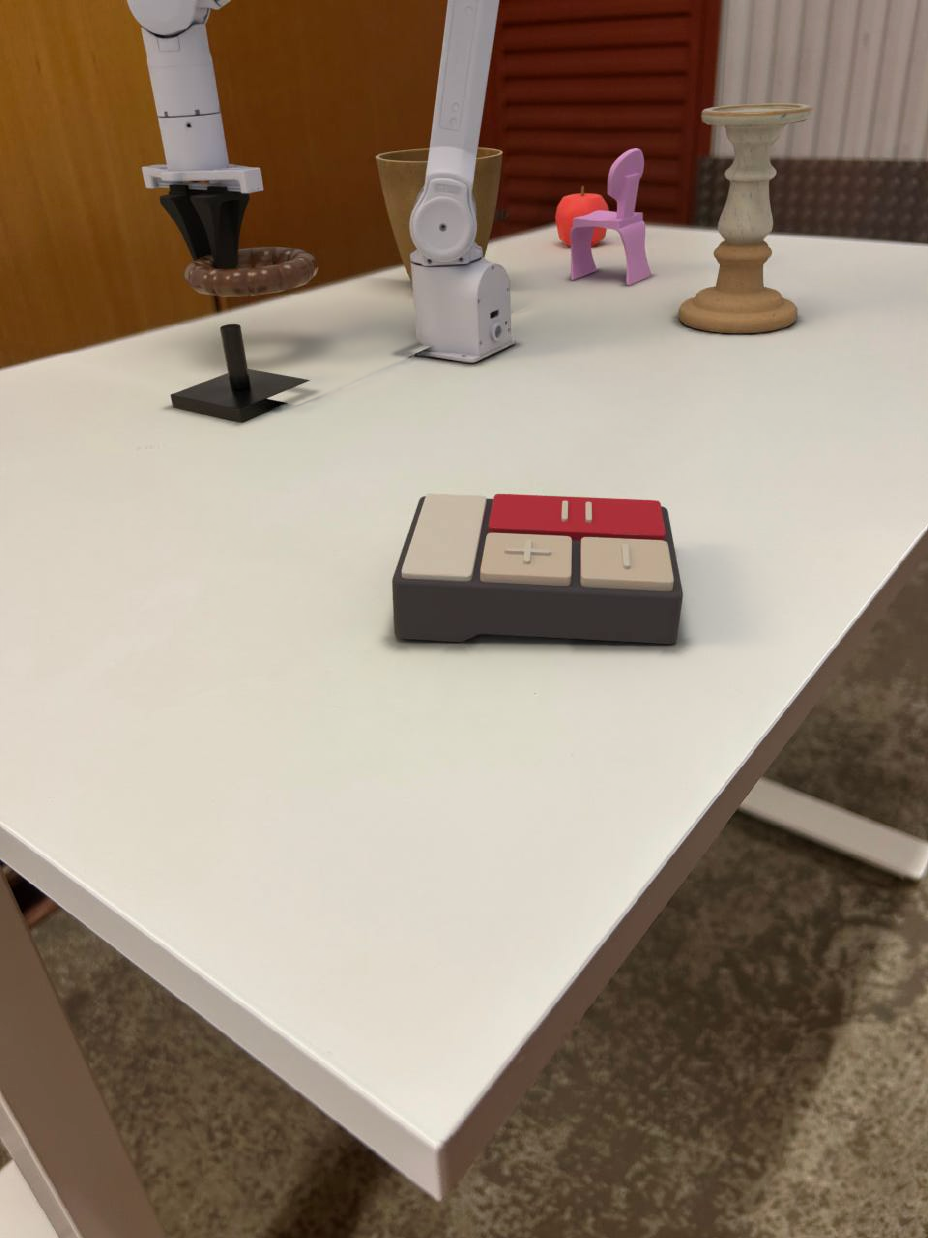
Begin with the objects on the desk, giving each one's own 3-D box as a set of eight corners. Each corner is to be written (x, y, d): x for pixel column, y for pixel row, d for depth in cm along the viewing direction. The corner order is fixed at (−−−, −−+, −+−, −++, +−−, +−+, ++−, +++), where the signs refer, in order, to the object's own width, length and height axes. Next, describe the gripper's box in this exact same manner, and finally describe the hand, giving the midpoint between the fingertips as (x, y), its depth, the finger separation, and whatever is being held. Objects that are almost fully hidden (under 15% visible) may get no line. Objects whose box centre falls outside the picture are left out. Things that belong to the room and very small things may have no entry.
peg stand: (312, 392, 89) (302, 319, 86) (241, 422, 83) (227, 345, 79) (244, 379, 94) (232, 309, 90) (172, 407, 88) (156, 333, 84)
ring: (343, 275, 94) (341, 249, 93) (252, 304, 86) (248, 276, 85) (255, 265, 101) (251, 241, 99) (162, 291, 92) (156, 265, 91)
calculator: (686, 583, 48) (389, 569, 49) (676, 655, 50) (392, 639, 51) (668, 493, 57) (419, 483, 58) (660, 557, 59) (421, 545, 61)
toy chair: (595, 268, 128) (597, 143, 120) (655, 273, 124) (661, 144, 116) (563, 281, 123) (564, 151, 115) (625, 287, 118) (629, 152, 110)
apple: (552, 250, 140) (552, 191, 136) (557, 240, 147) (557, 183, 143) (607, 249, 139) (609, 189, 134) (609, 238, 145) (611, 181, 141)
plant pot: (419, 313, 112) (408, 163, 104) (370, 290, 124) (356, 154, 115) (528, 294, 118) (526, 150, 109) (471, 274, 129) (465, 142, 121)
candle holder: (667, 331, 100) (680, 114, 90) (689, 302, 110) (703, 103, 99) (789, 337, 96) (818, 111, 86) (801, 307, 106) (828, 100, 95)
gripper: (104, 119, 89) (137, 270, 96) (209, 118, 82) (237, 283, 89) (164, 112, 94) (191, 257, 101) (269, 111, 87) (291, 267, 94)
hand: (217, 268), depth 95 cm, fingers closed on ring, 2 cm apart
